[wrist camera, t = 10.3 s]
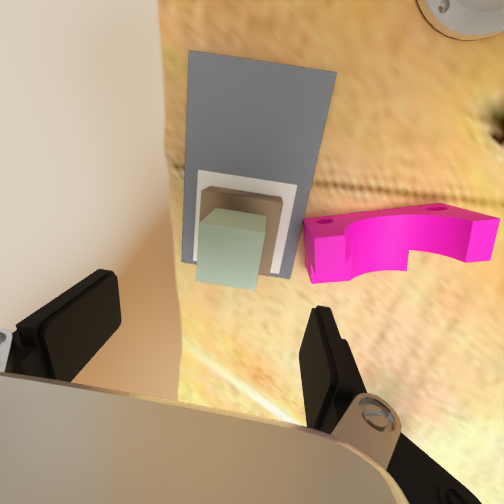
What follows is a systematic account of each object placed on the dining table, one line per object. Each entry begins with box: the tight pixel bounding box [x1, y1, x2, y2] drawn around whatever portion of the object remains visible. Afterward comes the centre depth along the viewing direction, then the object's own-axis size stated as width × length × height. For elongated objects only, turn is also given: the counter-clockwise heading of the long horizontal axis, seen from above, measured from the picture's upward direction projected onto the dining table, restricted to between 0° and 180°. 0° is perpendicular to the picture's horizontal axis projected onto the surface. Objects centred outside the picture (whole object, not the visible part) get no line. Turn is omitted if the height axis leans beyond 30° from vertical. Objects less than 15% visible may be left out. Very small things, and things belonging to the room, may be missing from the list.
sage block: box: [196, 208, 266, 290], centre depth 22 cm, size 5×5×6 cm
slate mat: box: [181, 50, 337, 279], centre depth 27 cm, size 14×22×1 cm, turn 172°
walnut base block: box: [197, 186, 283, 276], centre depth 26 cm, size 8×8×4 cm
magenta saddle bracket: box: [303, 203, 500, 284], centre depth 25 cm, size 15×6×8 cm, turn 98°
